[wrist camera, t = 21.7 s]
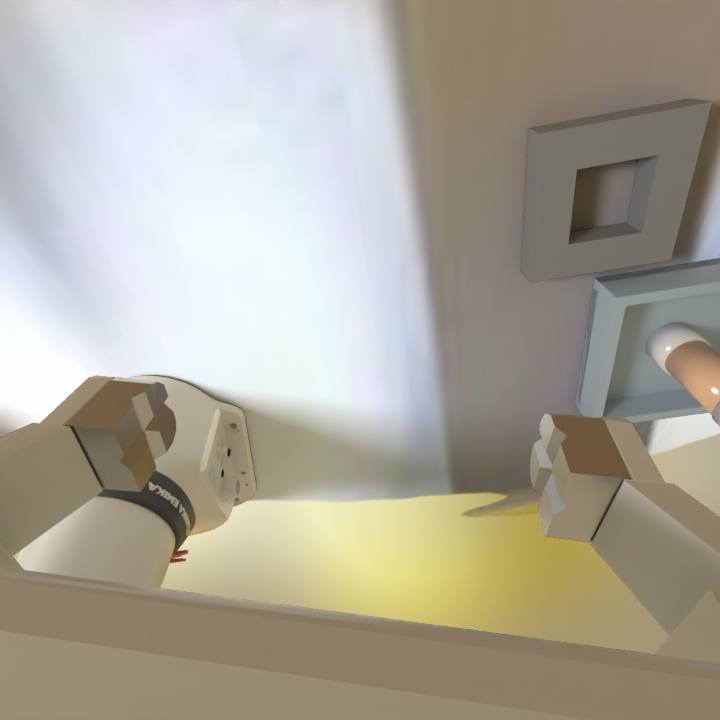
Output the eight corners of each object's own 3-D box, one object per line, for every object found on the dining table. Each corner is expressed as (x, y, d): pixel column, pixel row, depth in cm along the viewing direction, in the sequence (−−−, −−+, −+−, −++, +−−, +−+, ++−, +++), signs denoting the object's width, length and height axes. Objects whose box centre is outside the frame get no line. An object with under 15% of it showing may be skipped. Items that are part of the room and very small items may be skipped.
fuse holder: (654, 249, 40) (670, 260, 38) (520, 270, 41) (530, 282, 39) (689, 98, 33) (712, 101, 31) (528, 128, 34) (539, 133, 32)
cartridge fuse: (684, 355, 46) (787, 447, 35) (641, 361, 46) (730, 454, 36) (696, 319, 43) (810, 406, 33) (650, 325, 44) (749, 415, 33)
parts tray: (719, 383, 50) (746, 407, 46) (575, 404, 51) (590, 428, 48) (773, 249, 40) (811, 267, 37) (594, 278, 42) (616, 297, 38)
